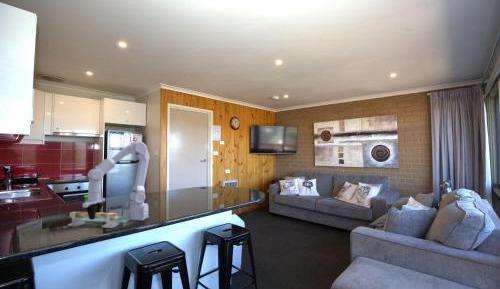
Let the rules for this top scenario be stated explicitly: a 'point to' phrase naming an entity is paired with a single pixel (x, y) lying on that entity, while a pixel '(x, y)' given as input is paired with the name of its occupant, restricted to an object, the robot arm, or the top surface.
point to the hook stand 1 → (76, 221)
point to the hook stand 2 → (110, 222)
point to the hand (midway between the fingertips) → (93, 218)
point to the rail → (97, 215)
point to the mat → (117, 220)
